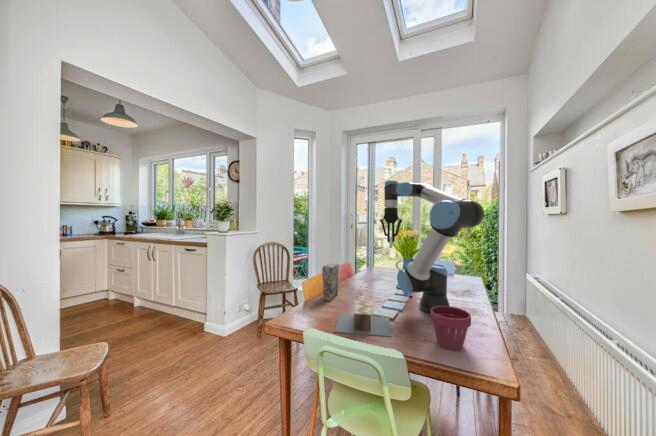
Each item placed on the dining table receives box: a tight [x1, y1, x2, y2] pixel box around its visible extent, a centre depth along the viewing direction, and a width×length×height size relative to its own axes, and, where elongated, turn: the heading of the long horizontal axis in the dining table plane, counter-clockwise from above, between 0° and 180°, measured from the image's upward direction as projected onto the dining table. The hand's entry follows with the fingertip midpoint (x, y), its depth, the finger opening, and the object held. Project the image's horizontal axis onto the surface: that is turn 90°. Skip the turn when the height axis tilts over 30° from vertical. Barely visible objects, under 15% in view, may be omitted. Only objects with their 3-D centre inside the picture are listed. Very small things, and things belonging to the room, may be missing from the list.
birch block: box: [353, 299, 373, 331], centre depth 123 cm, size 7×7×18 cm
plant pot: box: [430, 306, 472, 351], centre depth 103 cm, size 14×14×13 cm
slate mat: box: [333, 313, 393, 338], centre depth 121 cm, size 24×20×1 cm
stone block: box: [321, 262, 340, 302], centre depth 159 cm, size 13×7×20 cm, turn 164°
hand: (390, 247), depth 155 cm, fingers closed
